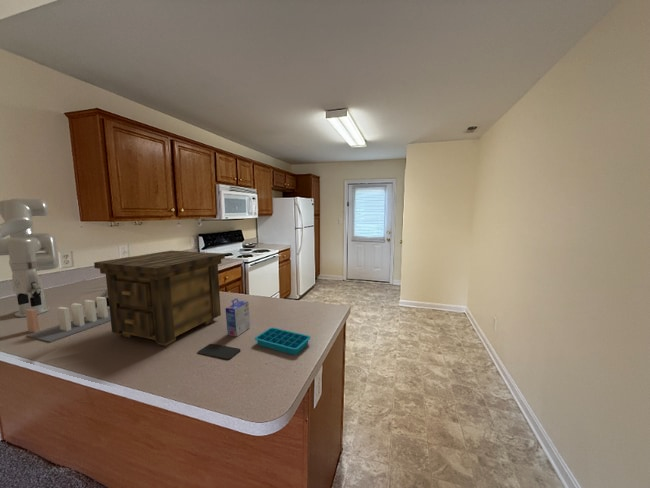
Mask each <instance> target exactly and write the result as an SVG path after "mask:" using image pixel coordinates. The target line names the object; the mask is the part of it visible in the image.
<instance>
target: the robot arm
mask: <svg viewBox="0 0 650 488" xmlns="http://www.w3.org/2000/svg"><path fill="white" fill-rule="evenodd" d="M49 208H50V207H49V204H48V202H47V201H46V200H44V199H41V198H40V199H39V198H11V199H3V200H0V217H1V218H2V219H3V221H4V222H1V223H0V256H9V261H8V264H9V267H10V271H11V273H12V275H11V278H12V279H11V280H12V290H13V292H14V293H16V297H17V299H16V300H17V304H18V311H17V312H15V313H14V316H15V317H19V318H22V317H25V318H26V312H25V310H26V309H35V310H37V315H40V314H43V313H47V312H49V311H50V310H51V307H50V306H49V305H48V306H47V305H46V297H45V291H44V283H43V279H42V277H41V275H39V274H38V272H39V271H46V270H47V271H49V270H55V269H57V268H58V267H59V264H60V263H59V262H60V261H59V253H58V249H57V248H58V247H57V242H56V238H55V237H54V235H53V234H52V233H48V232H40V233H39V232H38V233H37V232H35V230H34V221H33V217H46V216H48V215H49V212H50V209H49ZM8 236H9V237H8Z"/></svg>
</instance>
